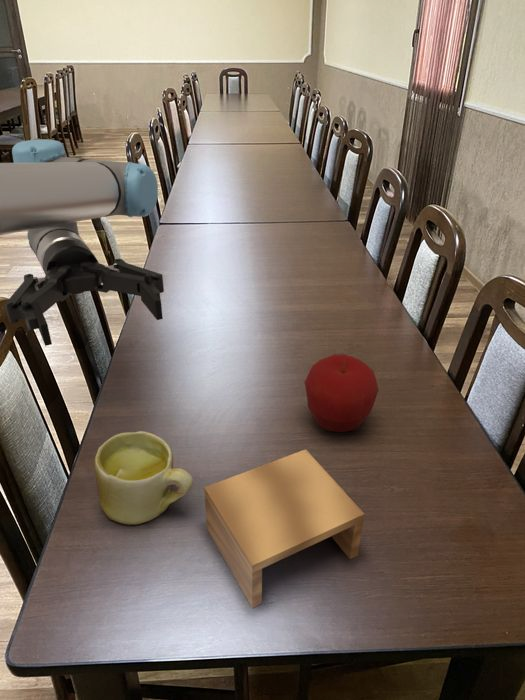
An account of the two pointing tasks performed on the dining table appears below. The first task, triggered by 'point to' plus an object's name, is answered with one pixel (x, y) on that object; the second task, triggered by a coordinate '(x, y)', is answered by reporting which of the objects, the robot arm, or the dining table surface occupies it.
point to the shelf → (278, 517)
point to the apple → (340, 392)
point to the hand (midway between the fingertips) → (105, 322)
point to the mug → (137, 477)
